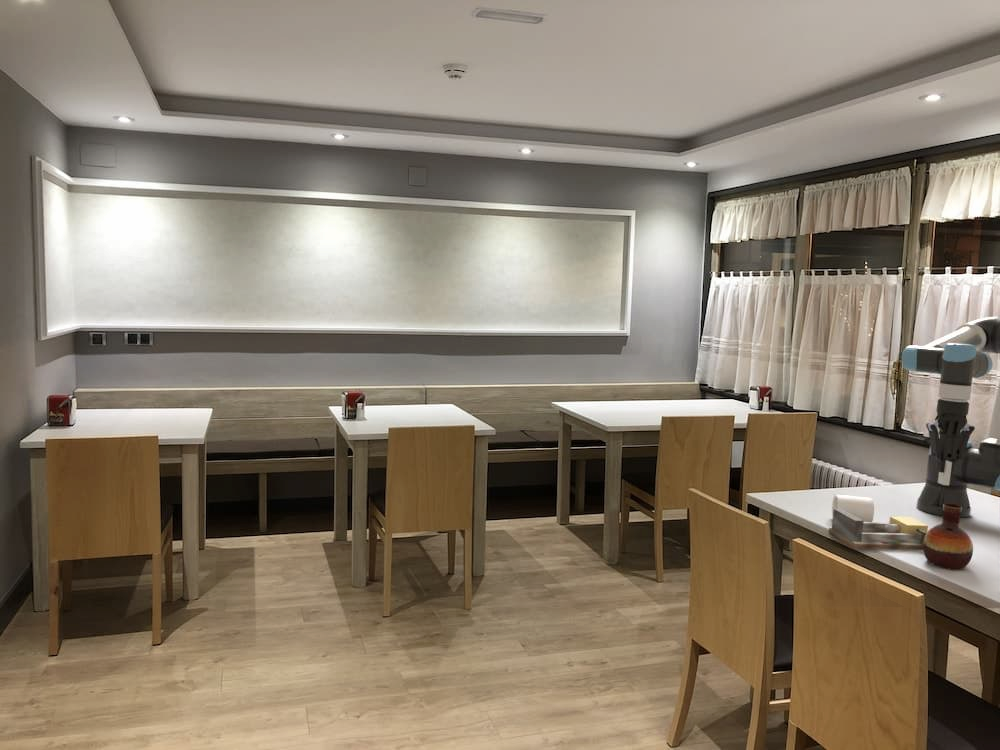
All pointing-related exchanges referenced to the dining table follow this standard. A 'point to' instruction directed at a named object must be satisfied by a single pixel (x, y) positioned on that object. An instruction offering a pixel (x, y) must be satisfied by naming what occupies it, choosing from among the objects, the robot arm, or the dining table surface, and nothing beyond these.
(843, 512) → the bench
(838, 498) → the mug
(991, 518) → the dining table surface
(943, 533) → the vase
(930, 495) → the robot arm
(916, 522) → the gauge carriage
